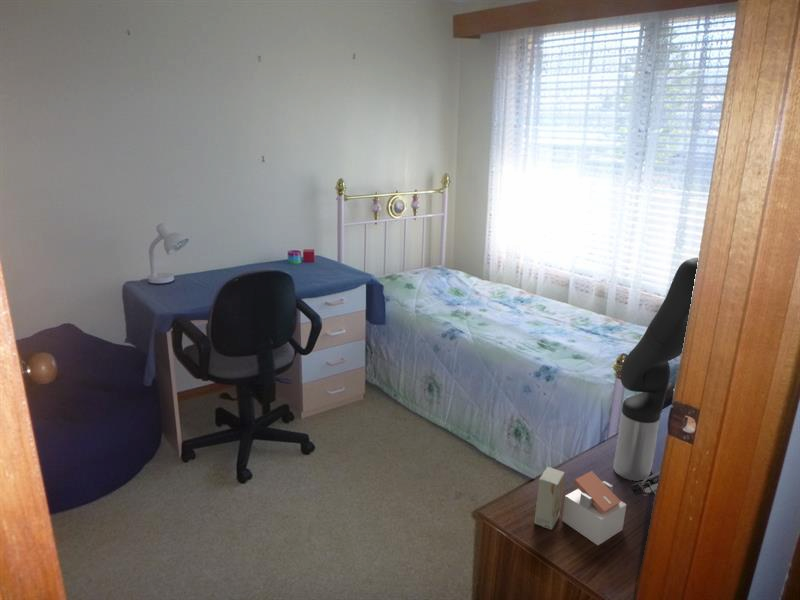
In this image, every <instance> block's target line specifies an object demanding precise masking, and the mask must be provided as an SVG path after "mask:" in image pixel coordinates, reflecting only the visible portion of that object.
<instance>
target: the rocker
mask: <svg viewBox="0 0 800 600" xmlns="http://www.w3.org/2000/svg"><path fill="white" fill-rule="evenodd" d="M573 484H574V485H575V486H576V487H577V489H579V490H580V491H581V492H582V493H583V492H584V493H585V494H587V495H588V496H590V497H591V498H592V502H591V503H592V504H593V505H594V506H595V507H596V508H597V509H598V510H599V512H600V513H601V514H604V513H605V512H607V511H609V510H610V509H612V508H613V507H615V506H617V505H618V504H619V503H620V502H621V500H620V499H619V498H618V496H617V495H616V494H614V492H613V490H612V491H611V490H610V489H609V488H608V487H607V486H606V485H605V484H604V483H603V481H602V480H601V479H600V477H598V476H597V475H596V474H595V472H594V471H593V470H591V471H588V472H587V473H584V474H583V475H581V476H579V477H578V478H575V479H574V481H573Z"/></svg>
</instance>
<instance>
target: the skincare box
mask: <svg viewBox="0 0 800 600" xmlns="http://www.w3.org/2000/svg"><path fill="white" fill-rule="evenodd" d="M564 480H565V471H562V470H559V469H556V468H554V467H550V466H546V468H545V469H544V471H543V472H542V474H541V475H540V477H539V479H538V486H537V487H538V488H537V494H536V495H537V497H536V504H535V505H536V506H535V513H534V524H535V525H538V526H541V527H542V528H544V529H545V528H546V529H548V530H553V528H554V527H555V526H556V524H557V522H558V520H559V517H560V512H561V506H562V505H561V504H562V497H563V489H564Z"/></svg>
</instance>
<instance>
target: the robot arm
mask: <svg viewBox="0 0 800 600" xmlns="http://www.w3.org/2000/svg"><path fill="white" fill-rule="evenodd" d="M698 257H699V256H698ZM698 257H692V258H689V259H686V260H685V261H683V262H682V263H681V264H680V265H679V267H678V268H677V270H676V273H675V274H674V277H673V278H672V282H671V284H670V287H669V289H668V290H667V293H666V295H665V298H664V299H663V302H662V304H661V305H660V307H659V309H658V311H657V312H656V314H655V315H654V316H653V318H652V320H650V323H649V324H648V327H647V328H646V330H645V332H644V333H643V335H642V337H641V339H640V340H639V342H638V343H637V344H636V345H635V346H634V347H633V349H632V350H631V351H630V352H629V353H628V354H627V355H626V357H625V359H624V360H623V362H622V364H621V368H620V373H619V376H620V383H621V385H622V386H623V388H624V389H626V390H628V391H631V392H635V393H636V392H637V393H638V394H635V395H632V396H629V397H627V398H626V399H625V400H624V401H623V402H622V407H621V414H620V420H619V428H618V434H617V441H616V447H615V453H614V459H613V465H612V466H613V467H612V468H613V471H614V472H615V473H616V474H617V475H618V476H620V477H621V478H623V479H625V480H626V479H627V480H629V481H632V480H633V481H634V482H636V483H634V484H631V485H630V486H629V488H630V489H629V490H630V491H631V493H632V494H633V496H635V497H637V496H640V495H643V497H654V496H655V495H656V489H657V486H658V481H659V475H660V471H661V470H660V471H656V472H655V473H653V474H651V472H652V471H651V469H652V470H653V464H654V459H655V453H656V447H657V442H658V441H657V437H658V431H659V425H660V421H661V414H662V412H663V409H664V405H665V400H666V396H667V392H668V388H669V383H670V378H671V377H670V376H671V367H670V364H669V361H672V360H674V359H676V358H678V357H679V356H681V355H682V354H683V353H682V348H683V343H684V337H685V332H686V326H687V321H688V315H689V309H690V304H691V297H692V291H693V286H694V279H695V274H696V269H697V262H698ZM681 353H682V354H681ZM649 475H650V476H649ZM648 476H649V477H648ZM647 477H648V478H647ZM645 478H647V479H646V480H644V479H645ZM639 480H643V481H639Z"/></svg>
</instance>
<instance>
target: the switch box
mask: <svg viewBox="0 0 800 600" xmlns="http://www.w3.org/2000/svg"><path fill="white" fill-rule="evenodd" d="M602 482H603V483H604V484H605V485H606V486H607V487H608V488H609V489H610V490H611V491H612V492H613V487H614V486H613V485H612V484H611V483H608V482H607V481H605V480H603V481H602ZM620 501H621V500H620ZM563 502H564V504H563V512H562V520H561V521H562V522H563V523H565V524H566V525H568V526H569V527H571V528H572V529H573V530H575V531H577V533H579V534H580V535H582V536H584V537H585V538H587V540H589V541H591V542H592V543H594V544H595V545H596V546H600V545H601V544H603V543H605V542H606V541H608V540H609V539H611V538H612V537H613V536H615V535H616V534H618V533H620V532H621V531H623V528H624V523H625V516H626V515H625V514H626V509H627V504H626V503H625V502H624V501H621V502H620V503H619V504H618V505H617V506H615V507H613V508H612V509H610V510H609V511H607V512H605V513H604V514H601V513H600V512H599V510H598V509H597V508H596V507H595V506H594V505H593V504H592V503H591V502H592V498H591V497H590V496H588V495H587V494H585V493H584V492H583V493H582V492H581V491H580V490H579V489H578V488H577V489H575V490H573V491H572V492H569V493H568V494H566V495H564V501H563Z"/></svg>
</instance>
